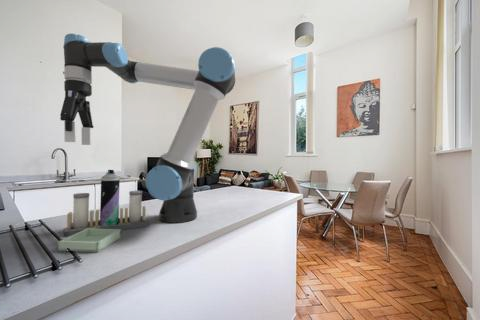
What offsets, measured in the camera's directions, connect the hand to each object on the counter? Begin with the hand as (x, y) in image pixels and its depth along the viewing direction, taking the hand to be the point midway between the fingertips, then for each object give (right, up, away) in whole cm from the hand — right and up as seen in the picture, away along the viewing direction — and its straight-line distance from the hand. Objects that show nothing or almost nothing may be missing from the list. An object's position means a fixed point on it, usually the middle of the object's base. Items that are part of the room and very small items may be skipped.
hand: (79, 143), depth 73 cm
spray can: (+11, -29, 0) cm, 31 cm away
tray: (+15, -29, -14) cm, 36 cm away
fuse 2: (+18, -29, +4) cm, 34 cm away
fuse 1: (+4, -29, -4) cm, 29 cm away
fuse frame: (+11, -29, 0) cm, 31 cm away
